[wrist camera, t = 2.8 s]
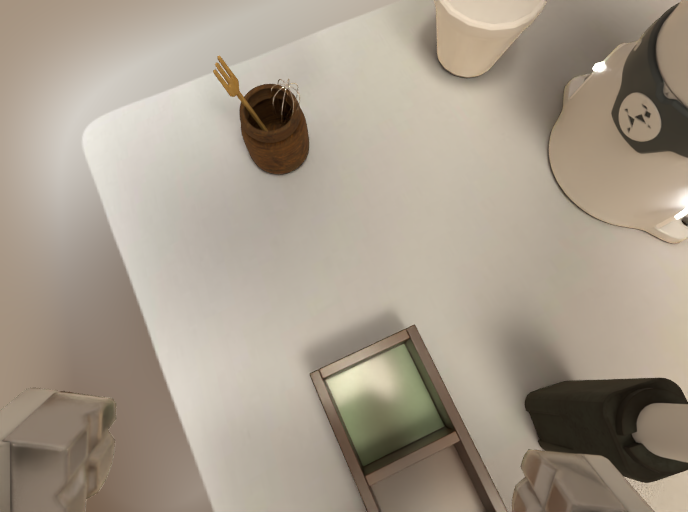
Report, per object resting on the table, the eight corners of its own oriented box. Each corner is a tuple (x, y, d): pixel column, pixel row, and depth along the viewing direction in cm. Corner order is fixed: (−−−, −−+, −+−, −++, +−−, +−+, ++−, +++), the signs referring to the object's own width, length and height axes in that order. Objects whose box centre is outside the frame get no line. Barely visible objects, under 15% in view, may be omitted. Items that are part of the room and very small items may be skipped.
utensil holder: (303, 181, 46) (288, 111, 34) (240, 170, 46) (204, 97, 34) (316, 128, 47) (306, 43, 36) (255, 117, 48) (225, 30, 36)
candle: (520, 395, 40) (778, 405, 16) (575, 377, 41) (909, 360, 16) (544, 457, 39) (864, 568, 15) (601, 438, 39) (1004, 516, 15)
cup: (529, 79, 49) (570, 10, 40) (438, 107, 48) (459, 42, 39) (490, 4, 51) (521, -77, 42) (404, 29, 50) (416, -49, 41)
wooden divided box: (407, 331, 42) (414, 324, 37) (506, 532, 37) (527, 551, 33) (313, 375, 41) (309, 373, 36) (403, 586, 36) (411, 614, 32)
